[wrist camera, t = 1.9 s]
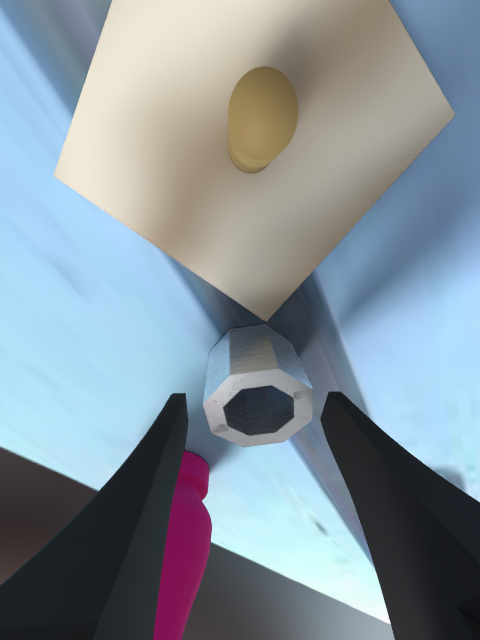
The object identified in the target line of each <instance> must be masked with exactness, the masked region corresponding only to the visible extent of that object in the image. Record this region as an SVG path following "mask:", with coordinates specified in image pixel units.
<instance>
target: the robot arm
mask: <svg viewBox="0 0 480 640" xmlns="http://www.w3.org/2000/svg"><path fill="white" fill-rule="evenodd" d="M320 420H321V423H322V426H323V430H324V433H325V436H326V439H327V442H328V444H329V446H330V449H331V451H332V453H333V456H334V458H335V460H336V463H337V465H338V467H339V469H340V472H341V474H342V476H343V478H344V481H345V483H346V485H347V487H348V490H349V492H350V495H351V497H352V500H353V502H354V505H355V508H356V511H357V514H358V517H359V520H360V523H361V525H362V528H363V531H364V535H365V538H366V541H367V544H368V547H369V550H370V553H371V556H372V560H373V563H374V566H375V570H376V573H377V576H378V580H379V583H380V586H381V590H382V593H383V597H384V601H385V604H386V608H387V612H388V615H389V619H390V622H391V626H392V630H393V634H394V638H395V640H480V502H478V501H477V500H475V499H474V498H472V497H471V496H469V495H468V494H466V493H465V492H463V491H462V490H460V489H459V488H457V487H456V486H454V485H453V484H451V483H450V482H448V481H447V480H445V479H444V478H443V477H441V476H440V475H438V474H437V473H436V472H434V471H433V470H431V469H430V468H429V467H427V466H426V465H425V464H423V463H422V462H421V461H419V460H418V459H417V458H416V457H414V456H413V455H412V454H410V453H409V452H408V451H407V450H405V449H404V448H403V447H402V446H401V445H399V444H398V443H397V442H396V441H395V440H393V439H392V438H391V437H390V436H389V435H387V434H386V433H385V432H384V431H383V430H382V429H381V428H379V427H378V426H377V425H376V424H375V423H374V422H373V421H372V420H371V419H369V418H368V417H367V416H366V415H365V414H364V413H363V412H362V411H361V410H360V409H359V408H358V407H357V406H356V405H354V404H353V403H352V402H351V401H350V400H349V399H348V398H347V397H346V396H345V395H344V394H343V393H341V392H329V393H328V396H327V399H326V402H325V406H324V409H323V412H322V415H321V418H320ZM187 428H188V414H187V404H186V394H185V393H173V394H172V395H170V397H169V399H168V401H167V403H166V404H165V406H164V408H163V409H162V411H161V412H160V414H159V415H158V417H157V419H156V420H155V422H154V423H153V424H152V426H151V427H150V429H149V430H148V432H147V433H146V435H145V436H144V437H143V439H142V440H141V441H140V443H139V444H138V445H137V447H136V448H135V449H134V451H133V452H132V453H131V454H130V456H129V457H128V458H127V459H126V461H125V462H124V463H123V464H122V466H121V467H120V468H119V469H118V470H117V471H116V473H115V474H114V475H113V476H112V477H111V478H110V480H109V481H108V482H107V483H106V484H105V485H104V486H103V487H102V488H101V489H100V491H99V492H98V493H97V494H96V495H95V496H94V497H93V498H92V499H91V500H90V501H89V502H88V504H86V506H85V507H84V508H83V509H82V510H81V511H80V512H79V513H78V514H77V515H76V516H75V517H73V518H72V519H71V520H70V521H69V523H67V524H66V525H65V526H64V527H63V528H62V529H61V530H60V531H59V532H58V533H57V534H56V535H55V536H54V537H53V538H52V539H51V540H50V541H49V542H48V543H47V544H46V545H45V546H44V547H42V548H41V549H40V550H39V551H38V552H37V553H36V554H35V555H34V556H32V557H31V558H30V559H29V560H28V561H27V562H26V563H25V564H24V565H23V566H22V567H20V568H19V569H18V570H17V571H16V572H15V573H14V574H13V575H12V576H10V578H8V579H7V580H6V581H5V582H4V583H3V584H1V585H0V640H153V635H154V627H155V619H156V611H157V603H158V595H159V588H160V580H161V573H162V566H163V559H164V552H165V545H166V538H167V531H168V525H169V518H170V511H171V506H172V501H173V496H174V491H175V487H176V483H177V479H178V474H179V470H180V466H181V461H182V457H183V452H184V448H185V444H186V436H187Z"/></svg>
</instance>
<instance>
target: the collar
mask: <svg viewBox="0 0 480 640" xmlns="http://www.w3.org/2000/svg"><path fill="white" fill-rule="evenodd" d="M312 402H313V388H312V386H311V384H310V382H309V380H308V378H307V375H306V373H305V371H304V369H303V367H302V364H301V362H300V360H299V358H298V356H297V354H296V351H295V349H294V347H293V345H292V343H291V341H289V340H288V339H286V338H285V337H283V336H282V335H280V334H279V333H277V332H276V331H274V330H273V329H272V328H270V327H269V326H267V325H266V324H262V325H255V326H248V327H241V328H233V329H229V330H228V331H227V332H226V333H225V335H224V336H223V337H222V338H221V339H220V341H219V342H218V343H217V344H216V345H215V346H214V348H213V349H212V350H211V351H210V352H209V357H208V365H207V373H206V381H205V389H204V397H203V407H204V411H205V414H206V417H207V420H208V424H209V427H210V430H211V433H212V434H214V435H217V436H219V437H222V438H224V439H226V440H229V441H231V442H233V443H236V444H238V445H240V446H243V447H249V446H257V445H265V444H273V443H280V442H284V441H285V440H287V439H288V438H289V437H291V436H292V435H293V434H294V433H296V432H297V431H298V430H300V429H301V428H302V427H304V426H305V425H306V424H307V423H309V422H310V421H311V420H312Z"/></svg>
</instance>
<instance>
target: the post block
mask: <svg viewBox="0 0 480 640" xmlns="http://www.w3.org/2000/svg"><path fill="white" fill-rule="evenodd" d="M454 116H455V113H454V111H453V109H452V108H451V106H450V104H449V103H448V101H447V99H446V97H445V96H444V94H443V92H442V91H441V89H440V87H439V85H438V84H437V82H436V80H435V79H434V77H433V75H432V73H431V72H430V70H429V68H428V66H427V65H426V63H425V61H424V60H423V58H422V56H421V54H420V53H419V51H418V49H417V48H416V46H415V44H414V42H413V41H412V39H411V37H410V36H409V34H408V32H407V30H406V29H405V27H404V25H403V24H402V22H401V20H400V18H399V17H398V15H397V13H396V12H395V10H394V8H393V6H392V5H391V3H390V1H389V0H113V1H112V4H111V6H110V9H109V12H108V15H107V18H106V21H105V24H104V27H103V30H102V33H101V36H100V39H99V42H98V45H97V48H96V51H95V54H94V57H93V60H92V63H91V66H90V69H89V72H88V75H87V78H86V81H85V84H84V87H83V90H82V93H81V96H80V98H79V101H78V104H77V107H76V110H75V113H74V116H73V119H72V122H71V125H70V128H69V131H68V134H67V137H66V140H65V143H64V146H63V149H62V152H61V155H60V158H59V161H58V164H57V167H56V170H55V173H54V177H56V178H57V179H59V180H60V181H62V182H63V183H65V184H66V185H67V186H69V187H70V188H72V189H73V190H75V191H76V192H78V193H79V194H81V195H82V196H83V197H85V198H86V199H88V200H89V201H91V202H92V203H94V204H95V205H97V206H98V207H99V208H101V209H102V210H104V211H105V212H107V213H108V214H110V215H111V216H113V217H114V218H115V219H117V220H118V221H120V222H121V223H123V224H124V225H126V226H127V227H129V228H130V229H131V230H133V231H134V232H136V233H137V234H139V235H140V236H142V237H143V238H145V239H146V240H147V241H149V242H150V243H152V244H153V245H155V246H156V247H158V248H159V249H161V250H162V251H164V252H165V253H166V254H168V255H169V256H171V257H172V258H174V259H175V260H177V261H178V262H180V263H181V264H182V265H184V266H185V267H187V268H188V269H190V270H191V271H193V272H194V273H196V274H197V275H198V276H200V277H201V278H203V279H204V280H206V281H207V282H209V283H210V284H212V285H213V286H214V287H216V288H217V289H219V290H220V291H222V292H223V293H225V294H226V295H228V296H229V297H230V298H232V299H233V300H235V301H236V302H238V303H239V304H241V305H242V306H244V307H245V308H246V309H248V310H249V311H251V312H252V313H254V314H255V315H257V316H258V317H260V318H261V319H262V320H264V321H265V322H267V321H268V320H269V318H270V317H271V316H272V315H273V314H274V313H275V312H276V311H277V310H278V309H279V307H280V306H281V305H282V304H283V303H284V302H285V301H286V300H287V299H288V298H289V297H290V295H291V294H292V293H293V292H294V291H295V290H296V289H297V288H298V287H299V286H300V285H301V283H302V282H303V281H304V280H305V279H306V278H307V277H308V276H309V275H310V274H311V272H312V271H313V270H314V269H315V268H316V267H317V266H318V265H319V264H320V263H321V262H322V260H323V259H324V258H325V257H326V256H327V255H328V254H329V253H330V252H331V251H332V249H333V248H334V247H335V246H336V245H337V244H338V243H339V242H340V241H341V240H342V239H343V237H344V236H345V235H346V234H347V233H348V232H349V231H350V230H351V229H352V228H353V227H354V225H355V224H356V223H357V222H358V221H359V220H360V219H361V218H362V217H363V216H364V214H365V213H366V212H367V211H368V210H369V209H370V208H371V207H372V206H373V205H374V204H375V202H376V201H377V200H378V199H379V198H380V197H381V196H382V195H383V194H384V193H385V192H386V190H387V189H388V188H389V187H390V186H391V185H392V184H393V183H394V182H395V181H396V179H397V178H398V177H399V176H400V175H401V174H402V173H403V172H404V171H405V170H406V169H407V167H408V166H409V165H410V164H411V163H412V162H413V161H414V160H415V159H416V158H417V156H418V155H419V154H420V153H421V152H422V151H423V150H424V149H425V148H426V147H427V146H428V144H429V143H430V142H431V141H432V140H433V139H434V138H435V137H436V136H437V135H438V134H439V132H440V131H441V130H442V129H443V128H444V127H445V126H446V125H447V124H448V123H449V121H450V120H451V119H452V118H453V117H454Z"/></svg>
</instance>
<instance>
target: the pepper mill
mask: <svg viewBox="0 0 480 640" xmlns="http://www.w3.org/2000/svg"><path fill="white" fill-rule="evenodd" d="M208 481H209V468H208V465H207V463H206V462H205V461H204V460H203V459H202V458H201V457H199V456H198V455H196V454H194V453H191V452H188V451H184V452H183V457H182V461H181V466H180V470H179V474H178V479H177V483H176V487H175V491H174V496H173V501H172V506H171V511H170V518H169V525H168V531H167V538H166V545H165V552H164V559H163V566H162V573H161V580H160V588H159V595H158V603H157V611H156V619H155V627H154V635H153V640H181V638H182V634H183V631H184V628H185V625H186V622H187V618H188V615H189V612H190V609H191V607H192V604H193V601H194V599H195V596H196V593H197V591H198V588H199V585H200V582H201V579H202V576H203V573H204V570H205V566H206V562H207V559H208V555H209V550H210V542H211V532H212V523H211V518H210V515H209V513H208V511H207V509H206V507H205V505H204V504H203V502H202V500H203V499H204V498H205V497H206V495H207V493H208Z"/></svg>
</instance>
